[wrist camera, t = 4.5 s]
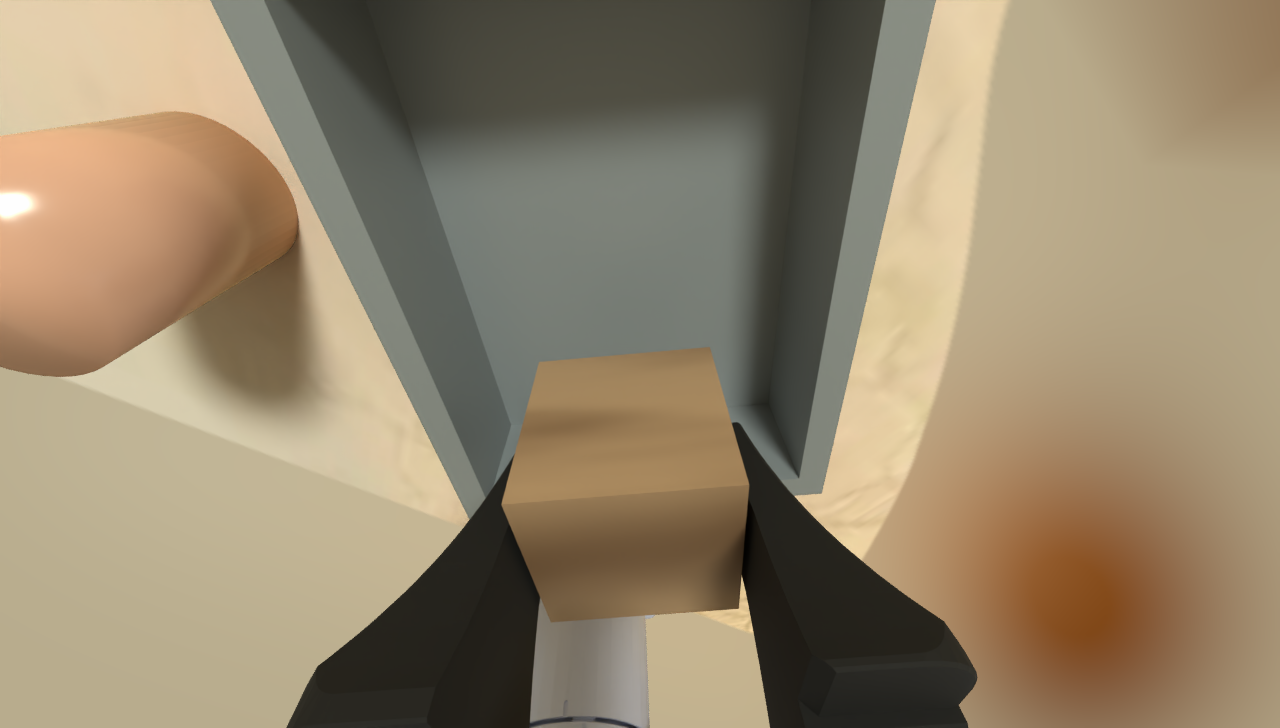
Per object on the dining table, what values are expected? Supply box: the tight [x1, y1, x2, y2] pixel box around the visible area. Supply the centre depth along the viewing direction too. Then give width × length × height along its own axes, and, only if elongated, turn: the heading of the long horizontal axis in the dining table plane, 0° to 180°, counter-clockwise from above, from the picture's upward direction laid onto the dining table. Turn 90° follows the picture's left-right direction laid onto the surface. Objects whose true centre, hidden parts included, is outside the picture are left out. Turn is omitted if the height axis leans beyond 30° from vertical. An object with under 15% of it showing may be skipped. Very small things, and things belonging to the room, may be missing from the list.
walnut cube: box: [501, 347, 749, 622], centre depth 12 cm, size 5×5×5 cm
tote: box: [210, 0, 936, 519], centre depth 15 cm, size 18×14×5 cm
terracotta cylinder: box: [0, 111, 298, 377], centre depth 12 cm, size 5×5×7 cm
